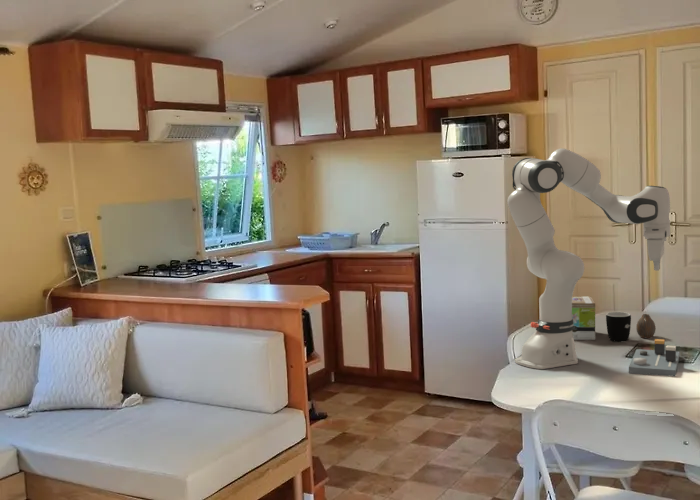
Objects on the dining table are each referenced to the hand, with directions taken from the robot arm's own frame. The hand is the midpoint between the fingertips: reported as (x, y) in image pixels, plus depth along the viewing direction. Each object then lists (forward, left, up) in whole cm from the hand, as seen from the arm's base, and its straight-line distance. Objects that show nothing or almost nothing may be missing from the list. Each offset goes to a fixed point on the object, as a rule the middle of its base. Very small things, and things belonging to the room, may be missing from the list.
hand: (656, 269), depth 271 cm
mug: (+3, +19, -29) cm, 35 cm away
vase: (+13, +15, -29) cm, 35 cm away
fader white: (-15, -17, -27) cm, 35 cm away
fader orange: (-11, -9, -27) cm, 30 cm away
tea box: (-3, +33, -29) cm, 44 cm away
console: (-17, -12, -29) cm, 36 cm away
